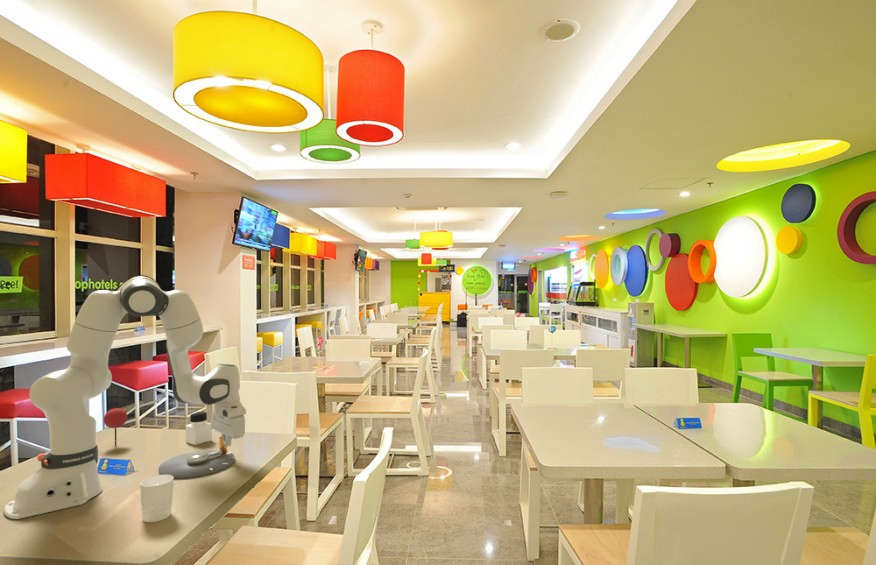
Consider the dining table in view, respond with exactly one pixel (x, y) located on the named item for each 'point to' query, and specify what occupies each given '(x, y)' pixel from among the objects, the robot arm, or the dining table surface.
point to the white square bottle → (198, 429)
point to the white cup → (156, 497)
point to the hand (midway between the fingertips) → (227, 445)
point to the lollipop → (115, 419)
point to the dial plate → (195, 466)
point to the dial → (206, 454)
